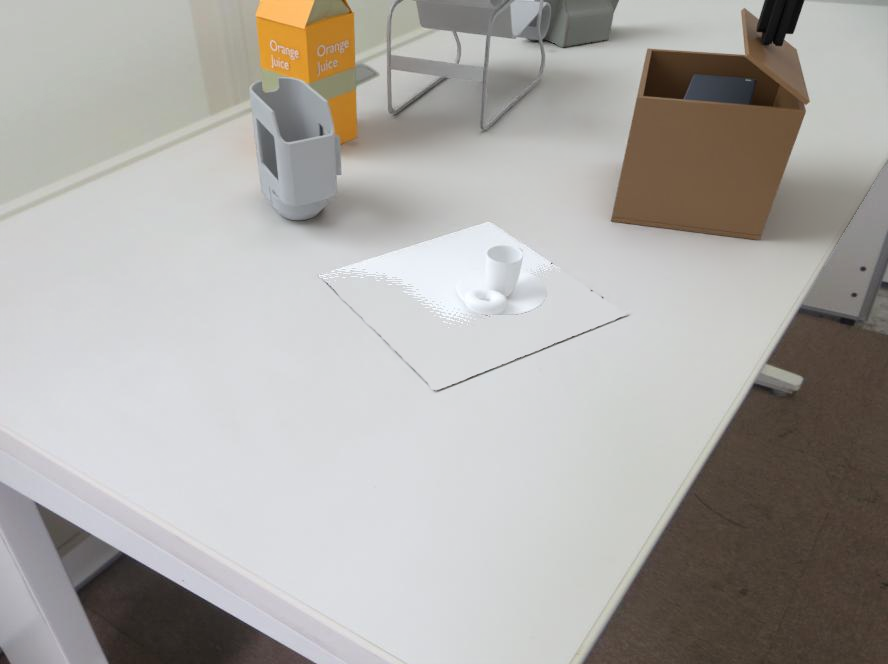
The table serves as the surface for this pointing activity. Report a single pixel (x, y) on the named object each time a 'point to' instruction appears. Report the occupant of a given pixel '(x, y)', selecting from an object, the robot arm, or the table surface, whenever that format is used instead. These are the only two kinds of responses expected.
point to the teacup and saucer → (498, 280)
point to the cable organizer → (295, 147)
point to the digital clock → (579, 21)
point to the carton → (705, 148)
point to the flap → (774, 58)
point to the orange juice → (312, 52)
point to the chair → (476, 12)
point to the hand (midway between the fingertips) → (771, 41)
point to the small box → (721, 89)
